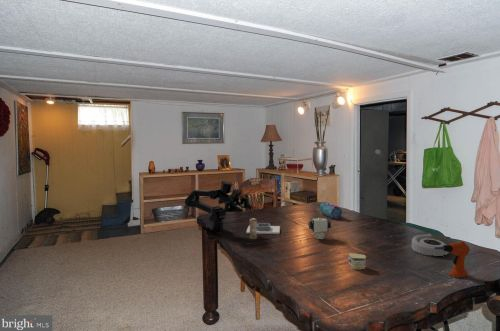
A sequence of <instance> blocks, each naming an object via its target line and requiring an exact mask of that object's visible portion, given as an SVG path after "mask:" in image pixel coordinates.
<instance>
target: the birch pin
mask: <svg viewBox="0 0 500 331" xmlns="http://www.w3.org/2000/svg"><path fill="white" fill-rule="evenodd" d="M257 224H258V221H257V218H254V217H253V218H249V226H250V234H249V239H250V240H256V239H258V234H257Z"/></svg>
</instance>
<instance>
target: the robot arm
mask: <svg viewBox="0 0 500 331" xmlns="http://www.w3.org/2000/svg"><path fill="white" fill-rule="evenodd" d="M232 187H233V182H231V181H226V180H221V186H220V188H218V189H213V190H204V189H203V190H201V189H195V190H192V192H191V193H190V194H189V195H188V196H186V198H185V200H184V204H185V206H186V207H188V208H196V209H198V210H201V211H203V212H205V213H207V214H210V216H209V221H210V222H211V228H210V231H213V232H220V231H223V230H225V227H224V221H223V220H225V218H226V216H227V213H242V212H244V211H243V209H246V210H253V205H252V204H250V202H249V199H250V198H249V197H247V196H244V197H241V198H240V196H241V195H242V192H243V191H242V189H239V188H236V189H233V190H232ZM230 193H231V194H230ZM201 197H202V198H204V197H205V198H209V199H210V200H211V199H212V200H218V202H217V203H218V205H215V206H212V205H210V204H207V203H205V202H202V201H200V198H201ZM222 204H224V207H223V206H220V205H222Z"/></svg>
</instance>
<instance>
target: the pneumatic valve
mask: <svg viewBox="0 0 500 331" xmlns="http://www.w3.org/2000/svg"><path fill="white" fill-rule="evenodd" d="M307 224H308V229H309V230H311V231H312V233H313V232H315V233H314V234H313V236H314V238H315V239H316V240H324V238H325V236H326V235H325V233H324V232H329V230H330V229H331V227H332V223H331V221H330V220H329V219H327V218H326V217H324V218H323V217H322V218H321V217H318V218H310V220H309V221H308V223H307Z"/></svg>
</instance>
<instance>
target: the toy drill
mask: <svg viewBox="0 0 500 331" xmlns="http://www.w3.org/2000/svg"><path fill="white" fill-rule="evenodd" d="M434 249H441V250H444V251H447V252H449V253H450V254H454V255H455V258H454V260H453V261H452V263H453V269H452V270H451V271H449V272H448V274H450V275H451V276H454V277H464V278H466V277H465V276H467V275H468V271H467V270H466V268H465V258H466V257H467V255H469V253H470V251H471V250H470V246H469V245H468V244H467V243H466V242H465V241H459V242H452V243H449V244H446V245H444V246H443V247H435V248H434ZM450 275H449V276H450ZM451 276H450V277H451ZM454 277H453V278H454ZM467 277H468V276H467Z"/></svg>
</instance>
